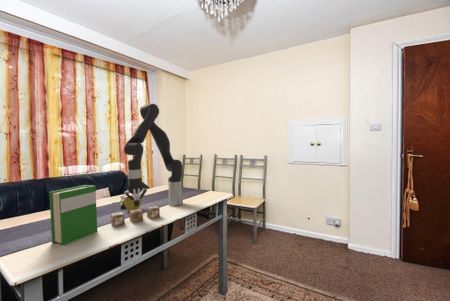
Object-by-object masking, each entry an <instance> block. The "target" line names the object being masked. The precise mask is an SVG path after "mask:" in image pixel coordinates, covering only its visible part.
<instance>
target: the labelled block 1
mask: <svg viewBox="0 0 450 301" xmlns="http://www.w3.org/2000/svg"><path fill="white" fill-rule="evenodd" d="M125 219H126V218H125V213H124V212H123V211H120V212H113V213H110V224H111V226H112V228H115V227H122V226H125V225H126V222H125V221H126V220H125Z"/></svg>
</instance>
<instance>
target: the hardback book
mask: <svg viewBox="0 0 450 301" xmlns="http://www.w3.org/2000/svg"><path fill="white" fill-rule="evenodd" d="M48 195H49V208H50V210H49V211H50V212H49V213H50V228H51V244H52V243H54V244H57V243H58V244H61V245H64V246H66V245H68V244H70V242H71V243H73V242H75V240H76V241H78V240H81V239H83V238H85V237H88V236H89V235H92V234H95V233H97V232H98V220H97V219H98V218H97V217H98V214H97V213H98V212H97V191H96V185H93V184H92V185H89V184H83V185H79V186H73V187H70V188H69V187H67V188H64V189H63V188H62V189H59V190H53V191H49V194H48ZM82 237H83V238H82ZM77 239H78V240H77ZM72 241H73V242H72ZM56 242H57V243H56ZM67 243H68V244H67ZM65 244H66V245H65Z"/></svg>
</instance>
